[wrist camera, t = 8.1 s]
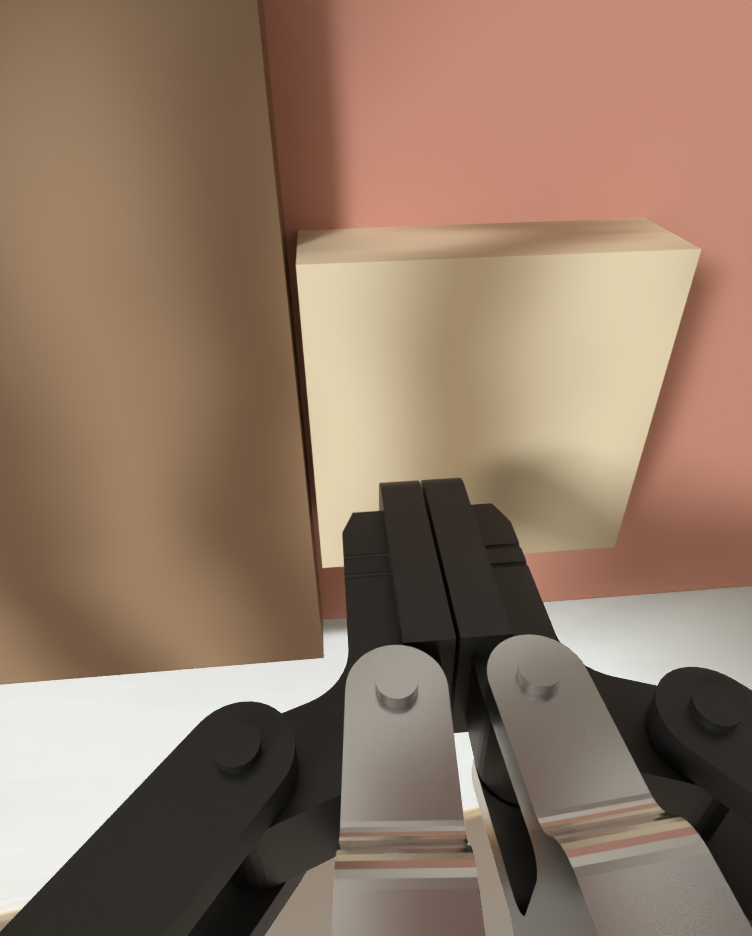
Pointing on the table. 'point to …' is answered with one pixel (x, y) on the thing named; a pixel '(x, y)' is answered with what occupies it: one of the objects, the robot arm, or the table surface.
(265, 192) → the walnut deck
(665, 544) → the terracotta mat
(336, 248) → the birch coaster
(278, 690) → the table surface
